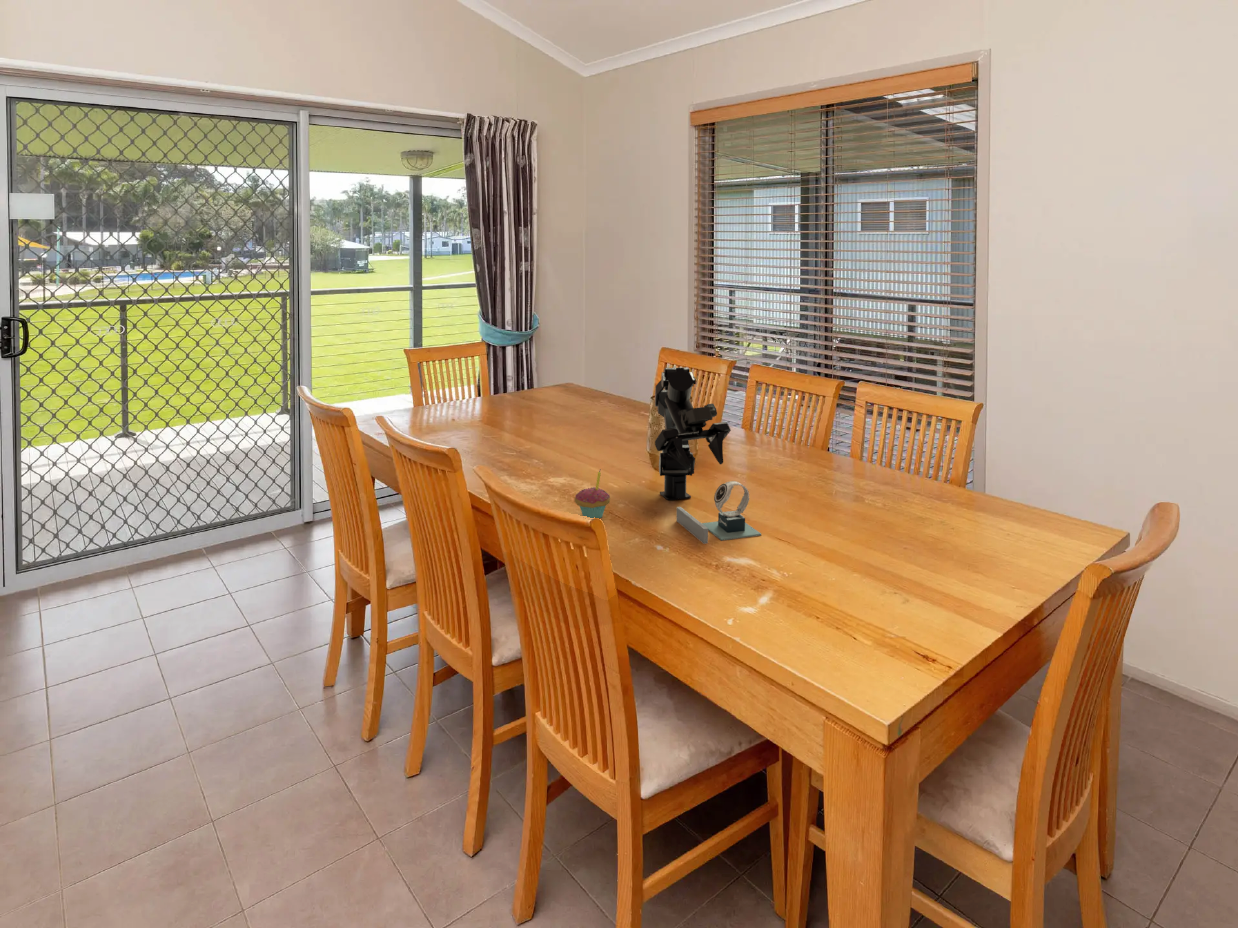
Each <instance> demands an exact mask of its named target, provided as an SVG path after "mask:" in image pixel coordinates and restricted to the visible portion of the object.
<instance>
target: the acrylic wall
mask: <svg viewBox="0 0 1238 928" xmlns="http://www.w3.org/2000/svg"><path fill="white" fill-rule="evenodd" d="M675 519H676V520H675V521H676V522H677V523H678V524H680V526H681V527H683V528H684V529H685V530H686V531H687V532H689V533H690V534H691V535H692V536H694V537H695V538H696V539H697V540H698V541H700V542H701V543H702V544H704V545H707V544H708V543H709V531H708V528H707V527H706V526H704V525H703V524H702V523H703V522H701V521H700V520H698V519H697V518H695V516H693V515H692V514H690V513H689V512H688V511H686V510H685V509H684V508H683V507H681V506H676V518H675Z"/></svg>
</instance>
